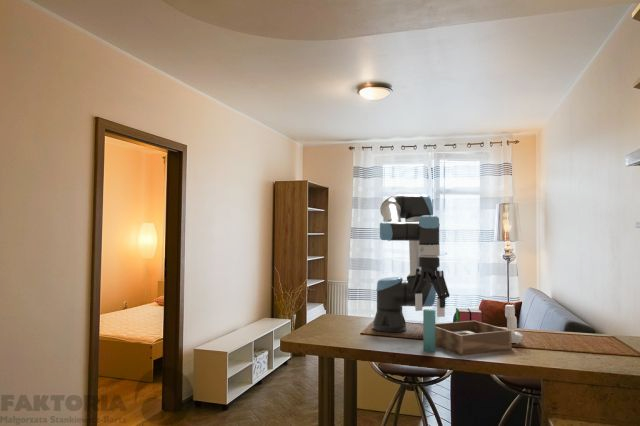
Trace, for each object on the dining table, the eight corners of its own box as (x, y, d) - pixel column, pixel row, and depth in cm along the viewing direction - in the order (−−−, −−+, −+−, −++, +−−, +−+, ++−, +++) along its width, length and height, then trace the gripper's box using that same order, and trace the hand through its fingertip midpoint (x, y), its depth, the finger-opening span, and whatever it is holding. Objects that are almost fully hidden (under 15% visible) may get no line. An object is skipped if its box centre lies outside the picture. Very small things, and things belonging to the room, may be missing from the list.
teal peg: (421, 349, 161) (420, 309, 161) (430, 348, 162) (430, 309, 163) (428, 352, 157) (427, 311, 157) (437, 351, 158) (437, 311, 159)
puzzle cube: (482, 335, 184) (482, 312, 185) (458, 334, 186) (458, 311, 187) (478, 330, 194) (478, 308, 194) (455, 329, 196) (455, 307, 196)
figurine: (504, 344, 169) (504, 306, 170) (498, 339, 178) (498, 302, 179) (524, 345, 168) (523, 307, 169) (517, 339, 177) (516, 303, 178)
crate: (427, 342, 172) (427, 324, 173) (474, 337, 181) (474, 320, 182) (460, 355, 154) (460, 335, 154) (511, 349, 163) (511, 330, 163)
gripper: (402, 255, 171) (402, 308, 170) (441, 258, 148) (442, 320, 147) (418, 255, 174) (418, 307, 173) (459, 258, 151) (459, 318, 150)
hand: (429, 313), depth 160 cm, fingers open, 13 cm apart
